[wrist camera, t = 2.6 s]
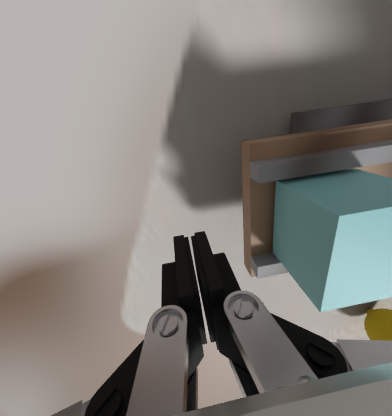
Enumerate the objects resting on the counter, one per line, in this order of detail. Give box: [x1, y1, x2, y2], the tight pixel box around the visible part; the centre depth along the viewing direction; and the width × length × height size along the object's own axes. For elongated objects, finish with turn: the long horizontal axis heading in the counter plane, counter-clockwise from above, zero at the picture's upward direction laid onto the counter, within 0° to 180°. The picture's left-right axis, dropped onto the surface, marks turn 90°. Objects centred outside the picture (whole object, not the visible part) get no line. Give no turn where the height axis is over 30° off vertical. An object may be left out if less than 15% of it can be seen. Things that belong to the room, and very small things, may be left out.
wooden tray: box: [241, 99, 392, 278], centre depth 16 cm, size 22×12×7 cm, turn 97°
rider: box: [273, 168, 392, 312], centre depth 11 cm, size 5×5×5 cm
